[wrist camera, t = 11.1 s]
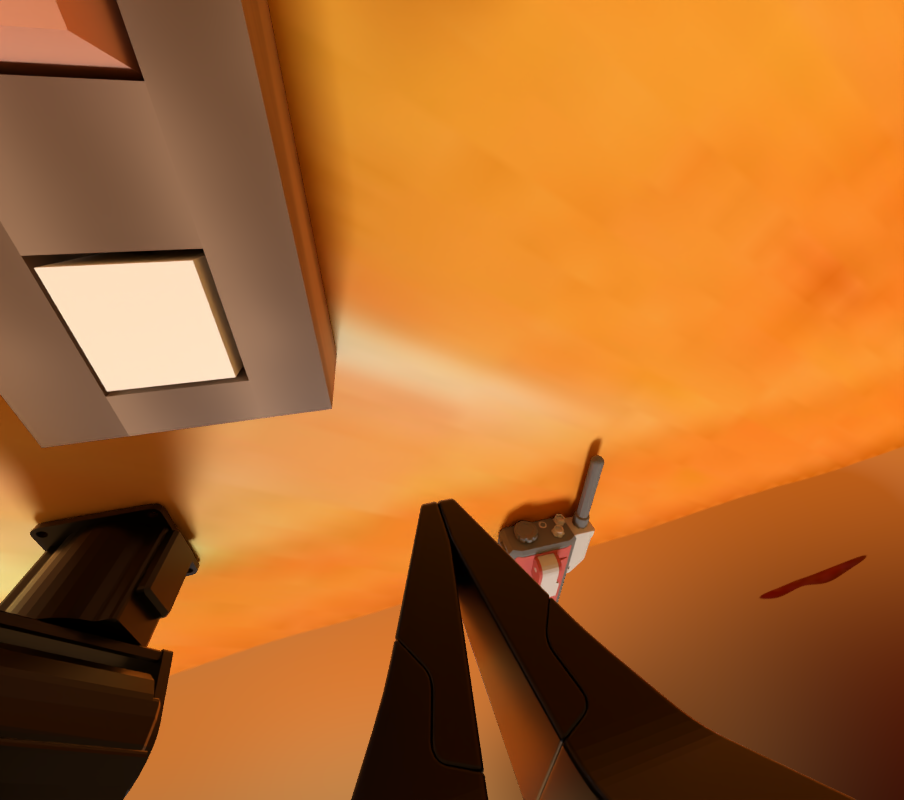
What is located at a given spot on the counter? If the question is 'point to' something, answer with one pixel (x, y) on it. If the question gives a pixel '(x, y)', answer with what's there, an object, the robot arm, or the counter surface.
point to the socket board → (162, 221)
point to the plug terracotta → (66, 40)
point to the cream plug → (145, 316)
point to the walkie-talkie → (554, 539)
